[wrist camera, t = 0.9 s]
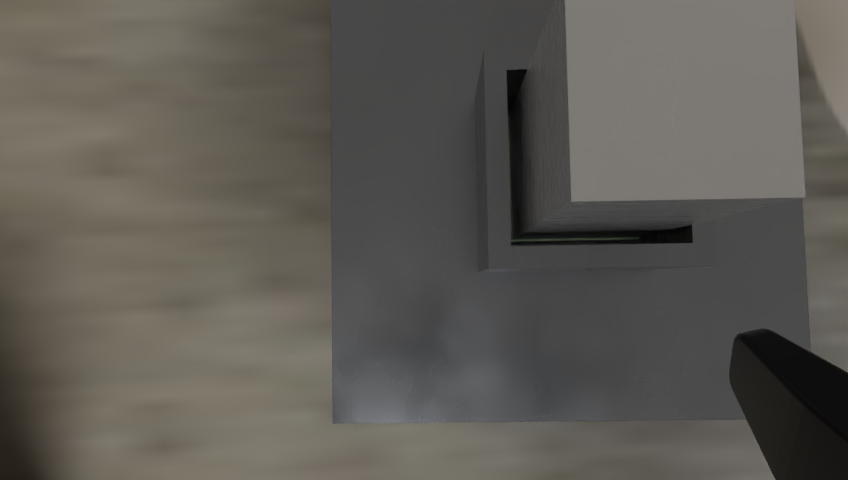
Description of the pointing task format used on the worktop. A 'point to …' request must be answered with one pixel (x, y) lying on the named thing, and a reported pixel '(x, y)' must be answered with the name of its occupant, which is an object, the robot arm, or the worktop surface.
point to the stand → (514, 249)
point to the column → (654, 118)
